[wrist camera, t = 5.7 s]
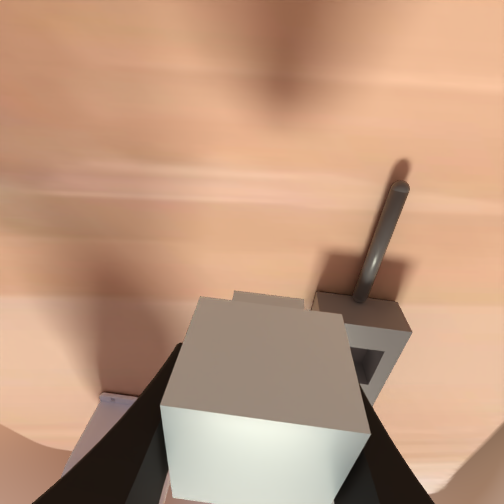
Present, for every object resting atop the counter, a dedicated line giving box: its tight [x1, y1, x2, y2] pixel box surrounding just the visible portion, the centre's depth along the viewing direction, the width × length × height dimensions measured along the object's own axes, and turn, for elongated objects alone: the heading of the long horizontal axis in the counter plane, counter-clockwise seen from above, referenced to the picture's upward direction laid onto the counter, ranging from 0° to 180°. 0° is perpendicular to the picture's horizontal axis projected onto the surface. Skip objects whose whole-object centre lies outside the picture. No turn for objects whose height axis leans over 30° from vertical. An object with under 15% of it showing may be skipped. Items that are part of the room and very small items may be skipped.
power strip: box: [312, 181, 412, 504], centre depth 22 cm, size 6×31×7 cm, turn 175°
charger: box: [160, 291, 371, 504], centre depth 11 cm, size 5×5×6 cm
